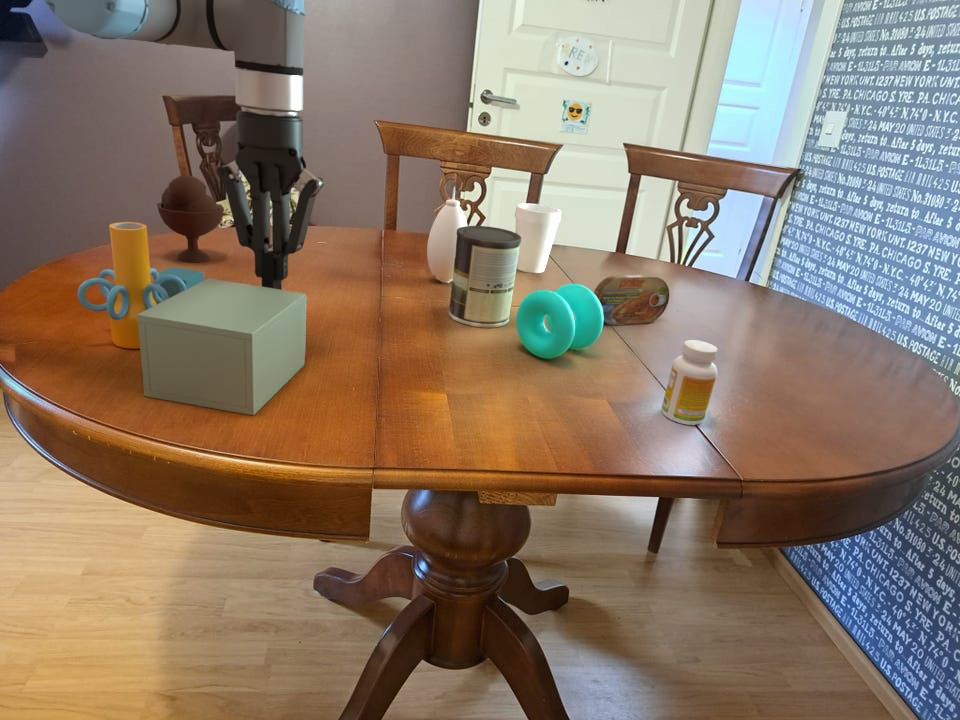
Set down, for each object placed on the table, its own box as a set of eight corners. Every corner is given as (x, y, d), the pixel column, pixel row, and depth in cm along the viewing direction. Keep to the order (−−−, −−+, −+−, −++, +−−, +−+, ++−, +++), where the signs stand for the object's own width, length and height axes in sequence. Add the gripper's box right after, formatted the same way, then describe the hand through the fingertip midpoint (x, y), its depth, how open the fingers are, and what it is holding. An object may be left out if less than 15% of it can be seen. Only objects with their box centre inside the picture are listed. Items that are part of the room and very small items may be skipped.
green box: (211, 348, 86) (208, 277, 82) (304, 364, 85) (306, 293, 81) (144, 396, 73) (136, 314, 69) (253, 415, 72) (252, 333, 68)
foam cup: (514, 273, 137) (523, 211, 132) (502, 261, 145) (510, 201, 140) (557, 276, 140) (567, 214, 134) (543, 263, 148) (552, 205, 143)
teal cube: (155, 307, 97) (152, 274, 95) (174, 298, 101) (172, 266, 99) (187, 313, 96) (185, 280, 94) (205, 303, 101) (203, 271, 99)
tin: (595, 326, 113) (604, 278, 109) (585, 319, 115) (594, 273, 112) (664, 323, 119) (675, 277, 116) (653, 316, 121) (664, 272, 118)
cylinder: (87, 362, 78) (71, 238, 73) (80, 330, 86) (66, 216, 80) (197, 351, 85) (190, 236, 79) (181, 322, 93) (175, 216, 87)
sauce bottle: (468, 279, 129) (479, 185, 122) (460, 290, 122) (471, 191, 115) (430, 272, 130) (438, 179, 123) (419, 283, 123) (428, 185, 116)
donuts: (600, 356, 100) (613, 293, 96) (559, 370, 93) (572, 303, 89) (549, 334, 106) (559, 274, 102) (507, 346, 99) (517, 282, 95)
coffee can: (435, 316, 108) (444, 230, 102) (468, 302, 116) (477, 222, 111) (490, 333, 104) (502, 244, 98) (520, 317, 112) (532, 235, 106)
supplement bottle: (712, 421, 84) (732, 351, 80) (685, 429, 81) (705, 357, 77) (678, 402, 88) (696, 335, 84) (652, 410, 85) (669, 340, 81)
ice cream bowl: (236, 262, 121) (234, 179, 116) (175, 269, 114) (169, 180, 108) (209, 248, 128) (205, 168, 122) (149, 253, 120) (142, 169, 114)
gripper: (334, 117, 81) (329, 301, 90) (232, 103, 82) (238, 286, 91) (311, 120, 74) (308, 318, 83) (200, 105, 75) (210, 303, 84)
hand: (271, 301), depth 87 cm, fingers closed
